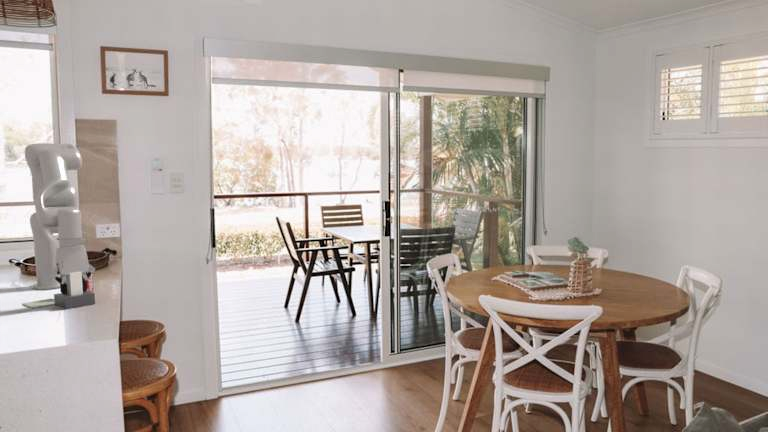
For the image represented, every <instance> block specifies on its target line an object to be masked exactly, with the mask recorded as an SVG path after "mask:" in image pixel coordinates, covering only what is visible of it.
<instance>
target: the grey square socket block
mask: <svg viewBox="0 0 768 432" xmlns="http://www.w3.org/2000/svg"><path fill="white" fill-rule="evenodd" d="M95 296H96V295H95V292H93V293H92V292H89V291H86V292H84V291H83V294H80V295H74V296H69V295H64V294H62V293H61V292H60V293H55V294H53V297H54V298H53V299H54V301H55V305H54V306H56V307H59V308H61V309H64V310H70V309H71V310H72V309H75V308H81V307H86V306H91V305H92V306H93V305H96V299H95V298H96V297H95Z"/></svg>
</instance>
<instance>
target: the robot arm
mask: <svg viewBox="0 0 768 432" xmlns="http://www.w3.org/2000/svg"><path fill="white" fill-rule="evenodd" d="M24 157H25V161H26V164H27V167H28V168H29V171H30V173H31V183H32V185H31V186H32V200H33V203H34V207H35V212H34V213H31V215H30V217H29V222H30V223H29V224H30V228H31V232H32V237H33V246H34V258H35V273H36V283H35V284H33V285H32V289H34V290H41V291H43V290H54V289H60V293H62V294H64V295H67V284H66V283H65V281H66V278H67V276H68V275H69V273H76V272H82V286H83V291H84V292H86V289H87V280H88V278H89V277H90V276H91V274H92V275H93V273H94V272H95V271H96V268H95V267H94V266H93V265H92V264H90V263H89V259H88V258H89V257H88V254H87V249H86V246H85V244H84V243H86V242H87V238H86V237H85V238H84V237H83V229H82V219H83V217H82V216H83V215H82V211H81V210H80V209H79V207H78V205H79V204H78V192H77V190H76V187H75V186H74V185H73V184H71V181H70V177H69V172H68V171H78V170H80V169H81V168H82V166H83V157H82V154H81V152H80V150H79V149H78V148H77V147H75V146H74V145H73V144H72V143H51V142H50V143H49V142H45V143H44V142H42V143H41V142H40V143H31V144H28V145H26V146H25V148H24ZM54 234H58V238H56V237H55V236H54ZM88 270H89V271H88ZM86 272H87V273H86Z"/></svg>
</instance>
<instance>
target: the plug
mask: <svg viewBox="0 0 768 432" xmlns="http://www.w3.org/2000/svg"><path fill="white" fill-rule="evenodd" d="M65 283H66V284H67V295H69V296H74V295H80V294H83V286H82V272H76V273H69V275H68V276H67V278H66V281H65Z"/></svg>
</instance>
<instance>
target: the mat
mask: <svg viewBox="0 0 768 432" xmlns="http://www.w3.org/2000/svg"><path fill="white" fill-rule="evenodd" d="M22 306H25V307H28V308H29V309H38V308H43V307H49V306H55V301H54V298H47V299H40V300H35V301H28V302H24V303H22Z"/></svg>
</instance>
